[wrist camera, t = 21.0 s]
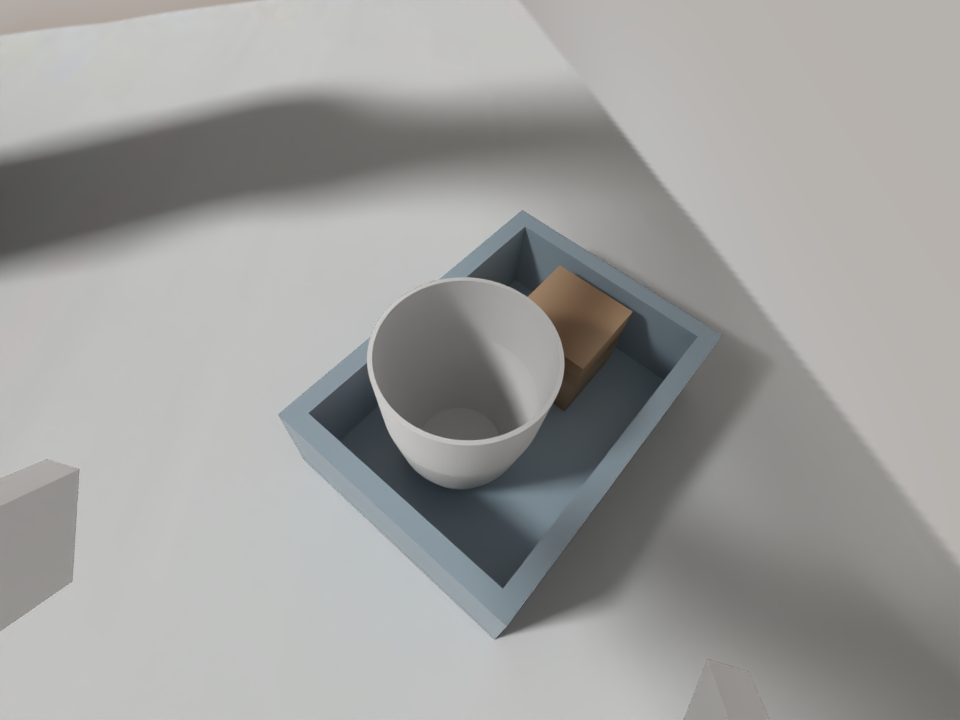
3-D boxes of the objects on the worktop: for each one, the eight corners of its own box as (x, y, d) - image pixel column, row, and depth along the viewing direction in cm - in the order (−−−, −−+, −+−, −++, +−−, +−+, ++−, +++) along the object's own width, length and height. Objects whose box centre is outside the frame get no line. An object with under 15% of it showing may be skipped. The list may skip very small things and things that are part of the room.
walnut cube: (499, 364, 34) (507, 316, 30) (546, 315, 36) (559, 265, 32) (564, 411, 33) (583, 369, 28) (609, 358, 35) (632, 311, 31)
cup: (450, 361, 34) (453, 249, 25) (558, 438, 32) (601, 343, 23) (357, 456, 30) (324, 363, 22) (471, 551, 28) (483, 488, 20)
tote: (304, 459, 31) (277, 414, 26) (512, 271, 39) (522, 210, 34) (494, 639, 27) (506, 626, 22) (682, 386, 35) (722, 335, 30)
